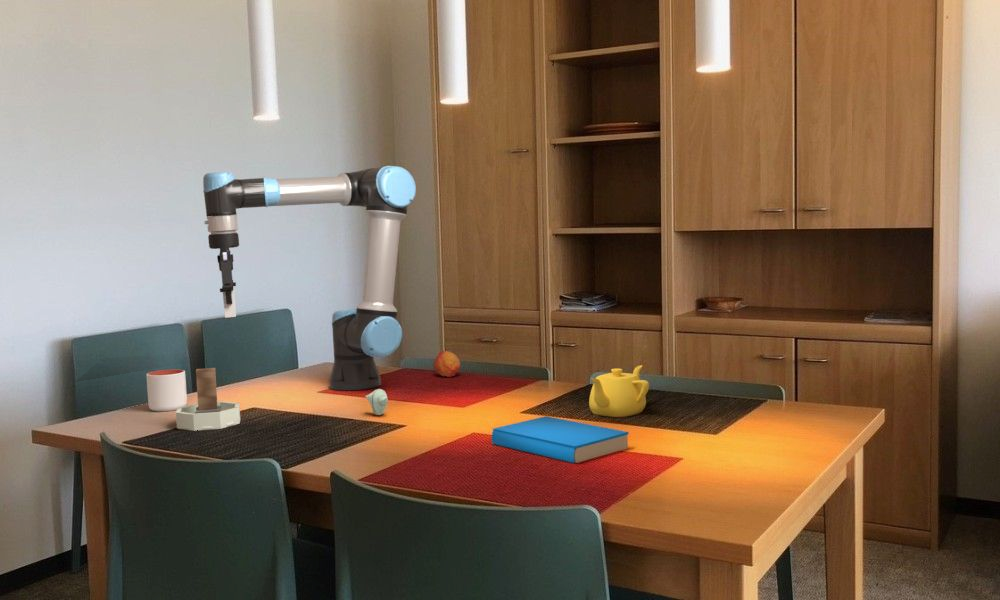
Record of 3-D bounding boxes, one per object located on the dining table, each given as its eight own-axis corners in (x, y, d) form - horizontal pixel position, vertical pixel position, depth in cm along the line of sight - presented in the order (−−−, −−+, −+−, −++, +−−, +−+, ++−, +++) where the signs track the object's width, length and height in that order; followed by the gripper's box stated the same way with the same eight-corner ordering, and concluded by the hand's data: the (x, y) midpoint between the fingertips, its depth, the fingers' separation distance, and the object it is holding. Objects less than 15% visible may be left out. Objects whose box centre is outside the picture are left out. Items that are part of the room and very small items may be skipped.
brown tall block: (218, 418, 249) (215, 367, 248) (217, 420, 247) (214, 369, 246) (199, 420, 248) (196, 369, 247) (199, 422, 246) (195, 370, 245)
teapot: (624, 424, 231) (623, 378, 230) (570, 417, 242) (569, 373, 241) (673, 408, 248) (672, 365, 247) (621, 401, 258) (620, 360, 257)
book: (545, 416, 227) (629, 430, 209) (545, 434, 228) (630, 450, 209) (490, 428, 216) (574, 444, 197) (490, 448, 216) (574, 466, 198)
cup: (193, 404, 274) (190, 369, 273) (178, 412, 264) (175, 375, 263) (158, 405, 275) (156, 369, 274) (142, 412, 265) (139, 375, 264)
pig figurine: (363, 414, 252) (362, 388, 252) (376, 412, 255) (375, 386, 254) (382, 418, 247) (381, 392, 246) (395, 416, 249) (394, 389, 249)
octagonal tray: (241, 415, 257) (240, 399, 257) (239, 427, 242) (238, 411, 242) (179, 419, 254) (178, 404, 253) (174, 432, 239) (173, 416, 238)
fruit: (450, 373, 311) (449, 348, 310) (466, 376, 305) (465, 350, 304) (430, 376, 306) (429, 351, 305) (445, 379, 300) (444, 353, 299)
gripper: (209, 232, 266) (216, 310, 268) (206, 235, 242) (214, 320, 244) (237, 230, 267) (245, 307, 270) (238, 232, 243) (246, 318, 246)
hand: (230, 314), depth 257 cm, fingers open, 13 cm apart
